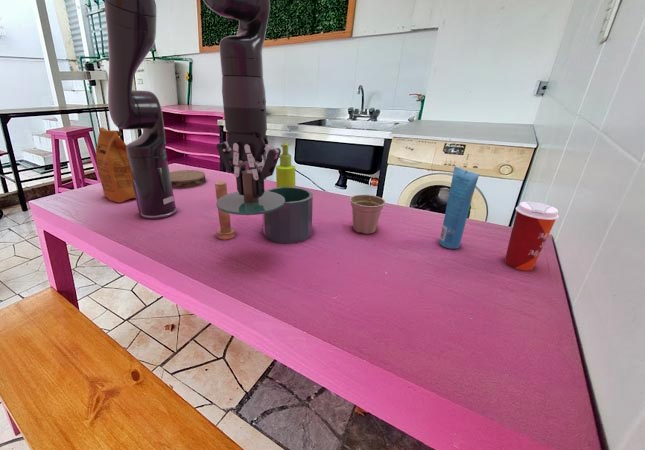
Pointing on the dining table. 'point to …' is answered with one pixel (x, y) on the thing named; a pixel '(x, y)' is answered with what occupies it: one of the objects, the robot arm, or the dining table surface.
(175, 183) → the brown round disc
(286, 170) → the soap dispenser
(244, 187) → the lid
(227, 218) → the wooden pestle
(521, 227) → the paper cup
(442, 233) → the tube
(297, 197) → the canister
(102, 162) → the coffee package
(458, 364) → the dining table surface
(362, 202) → the flower pot
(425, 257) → the dining table surface
